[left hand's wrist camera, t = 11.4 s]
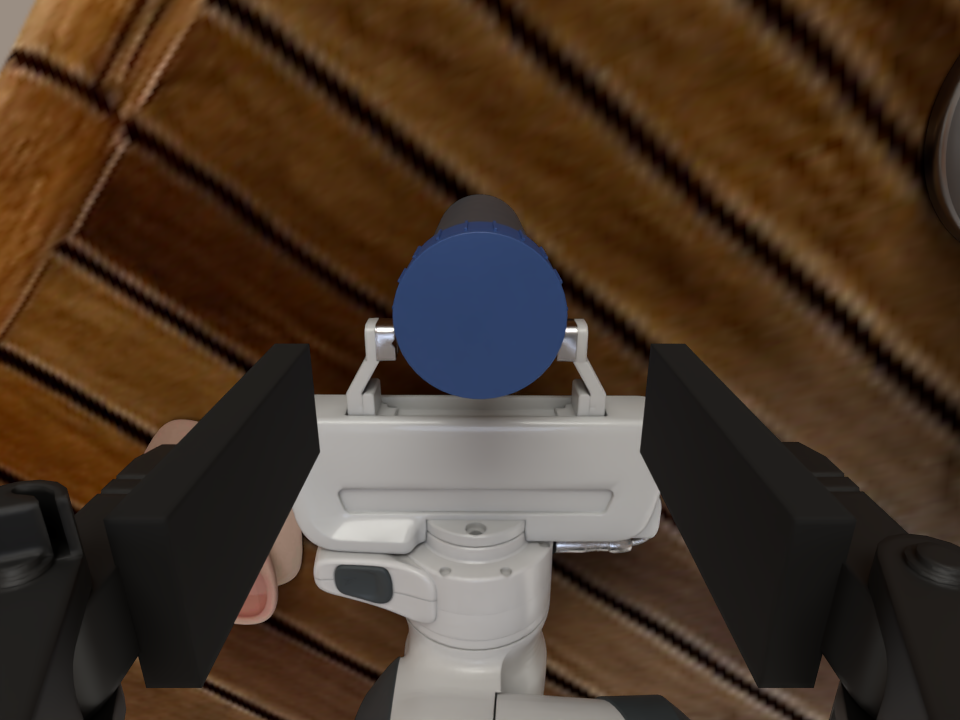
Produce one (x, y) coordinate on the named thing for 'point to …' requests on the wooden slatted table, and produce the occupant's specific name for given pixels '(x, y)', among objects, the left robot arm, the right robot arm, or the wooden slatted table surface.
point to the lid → (480, 311)
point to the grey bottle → (479, 212)
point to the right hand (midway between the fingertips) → (476, 321)
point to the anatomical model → (280, 559)
